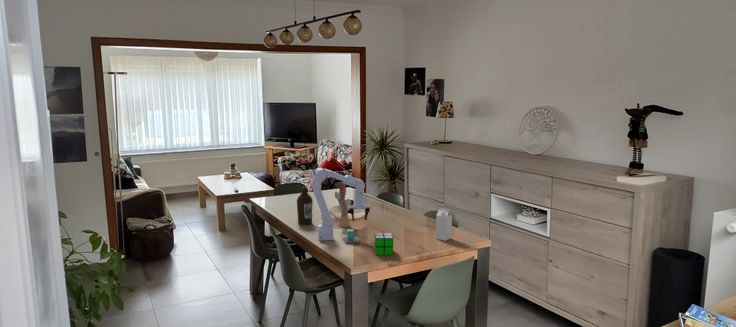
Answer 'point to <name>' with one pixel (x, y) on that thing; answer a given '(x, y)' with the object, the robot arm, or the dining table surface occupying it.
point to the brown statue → (343, 205)
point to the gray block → (351, 240)
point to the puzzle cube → (383, 244)
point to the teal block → (350, 234)
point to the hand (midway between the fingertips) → (359, 220)
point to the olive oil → (304, 208)
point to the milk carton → (443, 224)
